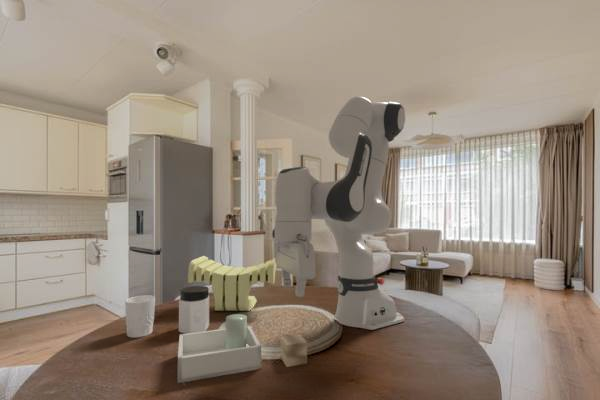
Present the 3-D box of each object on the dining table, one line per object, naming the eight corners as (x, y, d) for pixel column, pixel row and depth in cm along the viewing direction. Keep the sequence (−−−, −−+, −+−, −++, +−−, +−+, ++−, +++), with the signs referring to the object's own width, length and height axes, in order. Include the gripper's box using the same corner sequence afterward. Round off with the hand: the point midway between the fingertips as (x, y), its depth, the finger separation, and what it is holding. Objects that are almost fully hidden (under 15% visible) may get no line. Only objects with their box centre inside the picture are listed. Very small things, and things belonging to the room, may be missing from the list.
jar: (182, 336, 89) (182, 294, 89) (175, 327, 95) (176, 288, 96) (213, 330, 94) (213, 289, 94) (205, 322, 100) (205, 284, 101)
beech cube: (300, 354, 78) (299, 334, 78) (307, 363, 73) (307, 342, 73) (280, 357, 76) (280, 336, 76) (286, 367, 71) (286, 345, 72)
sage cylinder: (242, 349, 79) (244, 313, 79) (248, 358, 74) (249, 319, 74) (222, 352, 76) (224, 315, 77) (227, 361, 72) (228, 321, 72)
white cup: (159, 333, 92) (159, 298, 92) (130, 341, 86) (130, 304, 86) (148, 326, 97) (149, 293, 97) (120, 333, 91) (121, 299, 91)
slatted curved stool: (187, 313, 109) (188, 262, 110) (203, 300, 125) (203, 255, 126) (273, 314, 108) (273, 262, 109) (278, 300, 124) (278, 255, 124)
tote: (249, 344, 83) (249, 325, 84) (261, 368, 71) (261, 346, 71) (179, 354, 77) (179, 334, 78) (177, 383, 65) (177, 358, 65)
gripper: (322, 236, 67) (322, 301, 66) (292, 230, 86) (292, 281, 86) (294, 236, 65) (294, 304, 64) (270, 231, 84) (269, 283, 83)
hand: (293, 291), depth 75 cm, fingers open, 8 cm apart
